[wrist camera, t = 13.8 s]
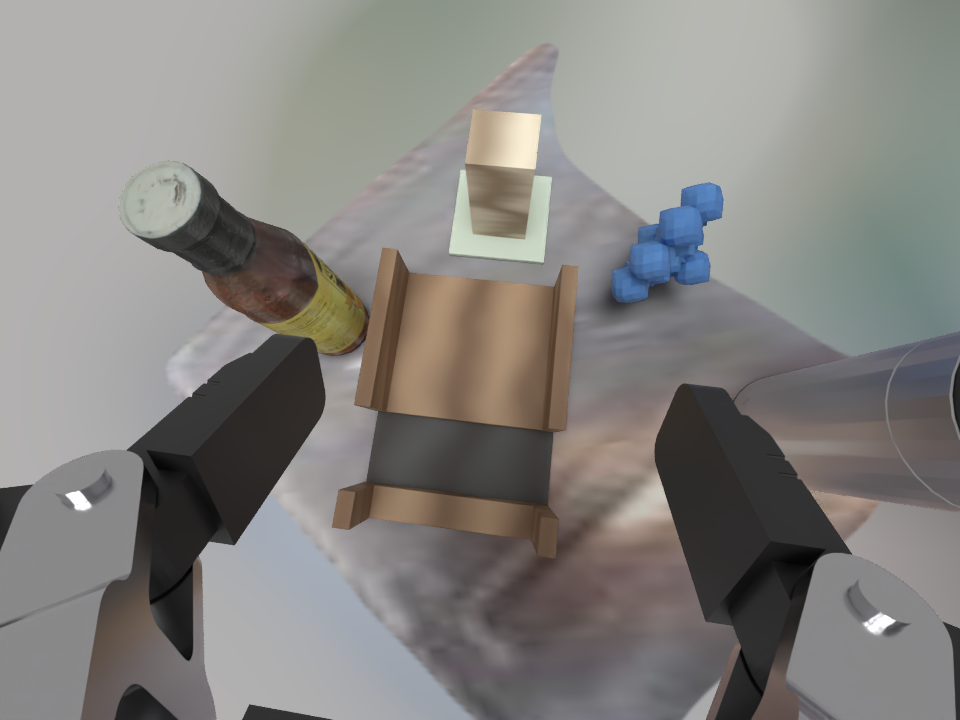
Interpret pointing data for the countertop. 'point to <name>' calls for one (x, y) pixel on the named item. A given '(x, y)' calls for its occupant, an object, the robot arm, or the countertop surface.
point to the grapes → (670, 246)
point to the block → (501, 171)
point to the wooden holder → (463, 402)
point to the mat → (502, 247)
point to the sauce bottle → (243, 258)
